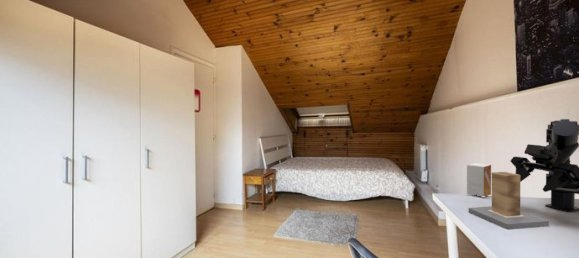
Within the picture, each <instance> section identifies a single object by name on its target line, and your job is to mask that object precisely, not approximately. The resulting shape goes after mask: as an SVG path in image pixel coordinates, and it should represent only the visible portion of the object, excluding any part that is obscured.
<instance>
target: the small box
mask: <svg viewBox="0 0 579 258" xmlns="http://www.w3.org/2000/svg"><path fill="white" fill-rule="evenodd" d="M466 195H467V196H472V195H477V196H486V197H488V196H492V164H487V163H478V162H474V163H470V164H466ZM477 196H476V197H477ZM481 198H485V197H481Z"/></svg>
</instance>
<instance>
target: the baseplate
mask: <svg viewBox="0 0 579 258" xmlns="http://www.w3.org/2000/svg"><path fill="white" fill-rule="evenodd" d="M468 213H470V214H472V215H474V216H477V217H479V218H481V219H484V220H486V221H488V222H490V223H493V224H495V225H496V226H499V227H502V228H503V229H505V230H515V228H516V229H526V228H525V227H529V228H537V227H538V228H539V227H540V226H542V227H549V226H550V220H547V219H545V218H541V217H538V216H536V215H533V214H530V213H527V212H524V211H521V210H520V215H518V216H504V215H501V214H499V213H496V212H494V211H492V205H490V206H476V207H468Z"/></svg>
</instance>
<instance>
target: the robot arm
mask: <svg viewBox="0 0 579 258" xmlns="http://www.w3.org/2000/svg"><path fill="white" fill-rule="evenodd" d="M545 132H546V133H545V139H546V140H545V142H546V143H545V144H547V143H548V144H547V145H539V144H527V145H526V148H525V150H524V154H525V155H528V156H530V157H531V159H532V161H535V162H532V161H530V160H529V159H528V158H527V157H523V156H513V157H512V158H511V159H510V160H509V162H511V164H512V165H513V166H514V167H515V173H514V174H518V175H520V183H521V182H522V181H524V180H526V179H527V178H528V177H529V176H531V173H533V172H534V171H535V170H537V171H538V170H539V171H544V172H547V173H545V184H544V186H543V188H542V191H543V192H545V193H547V192H549V191H550V203H548V204H545V207H548V208H551V209H557V210H560V211H564V212H567V213H568V212H569V213H570V212H571V213H572V212H575V211H579V207H576V206H575V203H576V202H575V201H576V198H575V197H576V195H577V194H578V195H579V165H578V164H574V163H571V156H572V155H573V154H574V153H575V152H576V151H577V149H578V148H579V142H578V141H579V123H578V121H576V120H575V121H574V120H570V119H569V118H562V119H561V118H560V119H559V120H552V121H550V124H547V128H546V130H545Z"/></svg>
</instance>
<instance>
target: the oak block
mask: <svg viewBox="0 0 579 258" xmlns="http://www.w3.org/2000/svg"><path fill="white" fill-rule="evenodd" d="M491 206H492V211H494V212H496V213H499V214H501V215H504V216H518V215H520V211H521V182H520V175H518V174H515V173H512V172H508V171H497V172H496V171H494V172H492V171H491Z"/></svg>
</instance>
